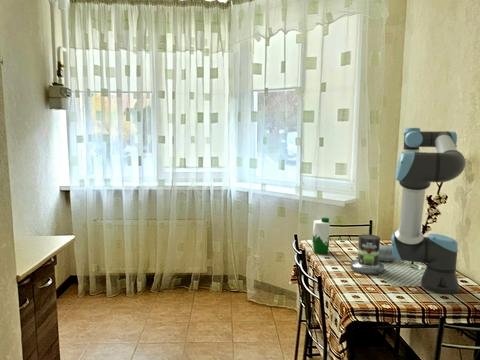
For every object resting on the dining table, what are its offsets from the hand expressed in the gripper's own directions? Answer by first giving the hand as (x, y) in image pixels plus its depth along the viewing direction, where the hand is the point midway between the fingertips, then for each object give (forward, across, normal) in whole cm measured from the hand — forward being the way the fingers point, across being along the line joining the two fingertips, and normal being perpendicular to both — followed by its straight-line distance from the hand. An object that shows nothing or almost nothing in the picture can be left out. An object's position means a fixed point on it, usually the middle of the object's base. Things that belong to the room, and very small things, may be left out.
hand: (408, 198), depth 196 cm
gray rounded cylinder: (+35, -1, -10) cm, 36 cm away
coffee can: (+32, +17, -18) cm, 40 cm away
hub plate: (+35, +17, -18) cm, 43 cm away
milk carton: (+35, -4, -44) cm, 57 cm away
